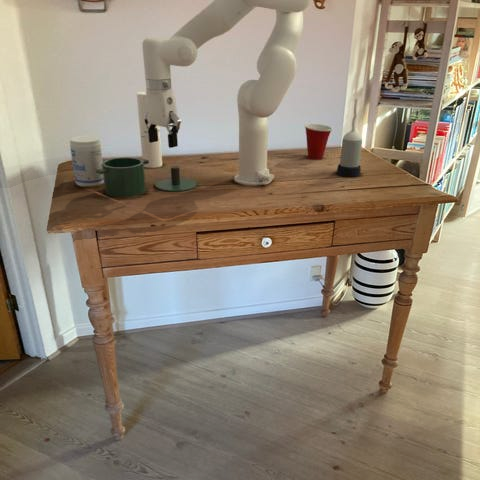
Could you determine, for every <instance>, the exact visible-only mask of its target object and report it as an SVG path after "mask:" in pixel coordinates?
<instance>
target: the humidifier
mask: <svg viewBox="0 0 480 480" xmlns="http://www.w3.org/2000/svg"><path fill="white" fill-rule="evenodd" d="M360 101H361V103H360V104H363V103H362V102H363V100H360ZM357 108H358V98H354V106H353V117H352V121H351V130H350V131H348V132H346V133H345V134H344V135H343V137H342V140H341V151H340V158H339V159H340V160H339V164H338V165H337V169H336V175H338V176H340V177H343V178H356V177H360V176H361V169H362V167H361V165H360V163H361V162H360V161H361V155H362V147H363V137H362V135H361V134H360V133H359V132H358V131H357V130H359V128H360V125H358V127H357V130H356V119H357V117H358V115H357ZM361 109H362V108H360V110H359V112H361V111H362V110H361ZM360 121H361V115H359V121H358V123H360Z"/></svg>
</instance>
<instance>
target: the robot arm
mask: <svg viewBox="0 0 480 480" xmlns="http://www.w3.org/2000/svg"><path fill="white" fill-rule="evenodd" d="M311 2H312V0H213V1H211V2H210V3H209V5H207V6H206V7H204V8H203V9H202V10H201V11H200V12H199V13H197V14H196V15H195V16H194V17H192V18H191V19H190V20H189V21H187V22H185V24H184V25H183V26H182V27H180V28H179V29H178V30H177V31H176V32H175V33H174V34H173V35H172V36H170V38H169V39H166V38H163V37H148V38H147V37H146V38H145V39H143V41H142V43H141V45H142V58H143V68H144V78H145V79H144V81H145V88H146V89H145V92H146V111H145V112H143V117H144V120H145V123H146V125H147V129H148V135H149V142H150V143H152V142H157V141H158V132H157V128H156V125H158V126H160V127H163V128H165V129H166V130H167V132H168V133H167V145H168V148H170V149H172V148H177V147H178V145H179V143H178V133H179V130H180V128H181V127H180V126H181V123H182V120H181V118H179V117H178V109H177V102H176V97H175V93H174V90H172V89H173V88H172V73H171V66H175V67H189V66H191V65H193V64H194V63H195V61H196V60H197V58H198V50H199V48H201V47H202V46H203V45H204V44H206V43H207V42H209V41H211V40H212V39H214V38H217V37H220V36H222V35H224V34H226V33H228V32H229V31H230V30H232V29H233V28H234V27H235V26H236V25H237V24H238V23H240V21H242V20H243V19H244V18H245V17H246V16H247V15H248V14H249V13H251V12H252V11H253V10H254V9H255V8H257V7H259V8H263V9H268V10H275V15H276V16H275V23H274V25H273V29H272V30H271V32H270V35H269V37H268V38H267V41H266V43H265V44H264V47H263V48H262V49H261V50H262V51H261V52H260V54H259V56H258V58H257V61H256V70H257V72H258V74H259V77H258V79H249V80H246V81H245V82H243V83H242V84H241V85H240V87H239V89H238V92H237V97H236V104H237V113H238V174H236V175H234V177H233V181H234V182H236V184H237V183H238V184H241V185H245V186H261V185H268V184H270V183H271V182H272V181H273V180H274V178H275V175H274V174H272V173H270V168H268V145H269V144H268V143H269V142H268V141H269V117H270V116H272V115H273V114H274V113H275V112H276V110H277V109H278V108H279V107H280V105H281V102H282V101H283V100H284V98H285V95H286V94H287V92H288V90H289V89H290V86H291V84H292V83H293V80H294V79H295V76H296V73H297V66H298V65H297V63H298V62H297V59H296V56H295V54H294V52H295V50H296V48H297V46H298V43H299V41H300V39H301V37H302V35H303V31H304V11H305V10H306V9H307V8H308V7H309V6H310V4H311Z"/></svg>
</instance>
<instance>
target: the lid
mask: <svg viewBox="0 0 480 480" xmlns="http://www.w3.org/2000/svg"><path fill="white" fill-rule="evenodd" d="M170 175H171V176H170V178H164V179H161V180H158V181H157V182H155V184H154V186H155V188H156V189H157V190H158V191H163V192H171V193H180V192H186V191H190V190H193V189H195V188H196V187H198V183H197V181H195V180H193V179H191V178H184V177H181V171H180V165H179V166H178V165H173V166H170Z"/></svg>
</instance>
